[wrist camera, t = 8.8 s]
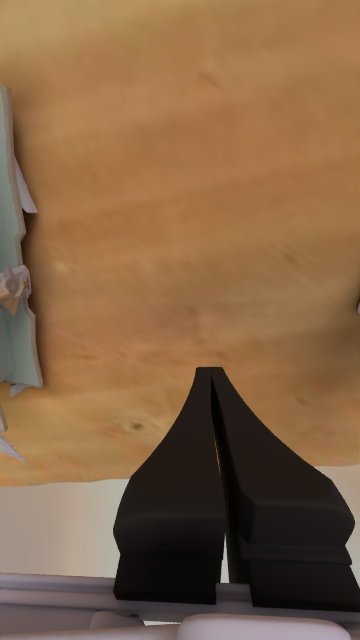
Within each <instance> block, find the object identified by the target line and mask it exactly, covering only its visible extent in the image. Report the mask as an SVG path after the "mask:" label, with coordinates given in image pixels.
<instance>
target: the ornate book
mask: <svg viewBox="0 0 360 640" xmlns="http://www.w3.org/2000/svg"><path fill="white" fill-rule="evenodd" d="M22 208H23V209H24V210H25V211H26V212H27V213H38V211H37V209H36V207H35V205H34V202H33V200H32V198H31V196H30V193H29V191H28V188H27V186H26V183H25V181H24V178H23V175H22V173H21V170H20V168H19V165H18V162H17V160H16V157H15V155H14V139H13V117H12V103H11V94H10V89H9V88H7V87H5V86H0V383H1V382H7V383H13V384H12V385H11V386H10V387H9V388H10V398H11V397H12V396H14V395H16V394H17V393H19V392H21V391H22V390H24V389H25V388H26V387H28V386H31V387H37V388H42V387H43V378H42V374H41V369H40V365H39V360H38V355H37V348H36V316H35V315H34V313H33V312H32V311H31V309H30V308H29V307H28V300H27V298H28V299H29V294H31V293H32V292H31V283H30V275H29V270H28V268H27V267H26V266H25V265H23V261H22V253H21V245H20V244H21V242H22V240H23V238H24V236H25V234H26V228H25V223H24V218H23V213H22ZM7 429H8V426H7V422H6V419H5V416H4V413H3V410H2V407H1V404H0V431H2V432H5V431H6V430H7ZM0 452H2V453H5V454H7V455H10V456H12V457H15V458H17V459H19V460H22V461H24V462H27V461H26V460H25V459H24V458H23V457H22V456H21V455H20V454H19V452H18V451H17V450H16V449H15V448H14V447H13V446H12V445H11V444H10V443H9V442H8V441H7V440H6V439H5V438H4V437H3V436H2V434H1V433H0Z"/></svg>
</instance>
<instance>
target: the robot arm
mask: <svg viewBox="0 0 360 640" xmlns="http://www.w3.org/2000/svg"><path fill="white" fill-rule="evenodd" d="M357 311H358V312H359V313H360V303H359V306H358V310H357ZM214 437H215V439H214ZM215 442H216V446H215ZM216 448H217V452H216ZM217 454H218V459H217ZM218 460H219V465H218ZM219 467H220V471H219ZM354 526H355V520H354V517H353V515H352V513H351V511H350V509H349V507H348V505H347V503H346V502H345V500H344V499H343V497H342V495H341V494H340V492H339V491H338V489H337V488H336V486H335V485H334V483H333V481H332V480H331V479H329V478H328V477H326V476H325V475H324V474H322V473H321V472H320V471H318V470H317V469H315V468H314V467H313V466H311V465H310V464H308V463H307V462H306V461H304V460H303V459H302V458H301V457H299V456H298V455H297V454H296V453H294V452H293V451H292V450H291V449H290V448H289V447H287V446H286V445H285V444H284V443H283V442H282V441H281V440H280V439H278V438H277V437H276V436H275V435H274V434H273V433H272V432H271V431H270V430H269V429H268V428H267V427H266V426H265V425H264V424H263V423H262V422H261V421H260V420H259V419H258V418H257V416H256V415H255V414H254V413H253V412H252V411H251V409H250V408H249V407H248V406H247V404H246V403H245V402H244V401H243V399H242V398H241V397H240V395H239V394H238V392H237V391H236V389H235V388H234V386H233V385H232V383H231V382H230V380H229V378H228V377H227V375H226V373H225V371H224V369H223V368H222V367H198V368H196V373H195V378H194V381H193V385H192V387H191V390H190V393H189V395H188V397H187V400H186V402H185V404H184V406H183V408H182V410H181V412H180V414H179V415H178V417H177V419H176V421H175V422H174V424H173V425H172V427H171V428H170V430H169V432H168V433H167V435H166V436H165V437H164V439H163V440H162V441H161V443H160V444H159V445H158V446H157V448H156V449H155V450H154V452H153V453H152V454H151V455H150V456H149V458H148V459H147V460H146V461H145V462H144V463H143V464H142V465H141V466H140V467H139V469H138V470H137V471H136V472H135V473H134V474H133V475H132V476H131V478H130V480H129V482H128V484H127V487H126V489H125V491H124V494H123V496H122V499H121V502H120V505H119V508H118V512H117V516H116V520H115V524H114V528H113V535H114V538H115V541H116V543H117V546H118V549H119V552H120V559H119V564H118V569H117V574H116V578H104V577H83V576H60V575H39V574H18V573H0V640H360V588H359V586H358V583H357V581H356V579H355V577H354V574H353V572H352V570H351V568H350V565H352V560H351V558H350V555H349V553H348V551H347V549H346V547H345V544H346V542H347V541H348V539H349V537H350V535H351V534H352V532H353V529H354ZM225 535H226V547H227V561H228V573H229V583H220V580H221V566H222V560H223V553H224V540H225ZM143 621H160V622H178V623H181V624H167V625H150V626H145V624H144V622H143Z"/></svg>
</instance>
